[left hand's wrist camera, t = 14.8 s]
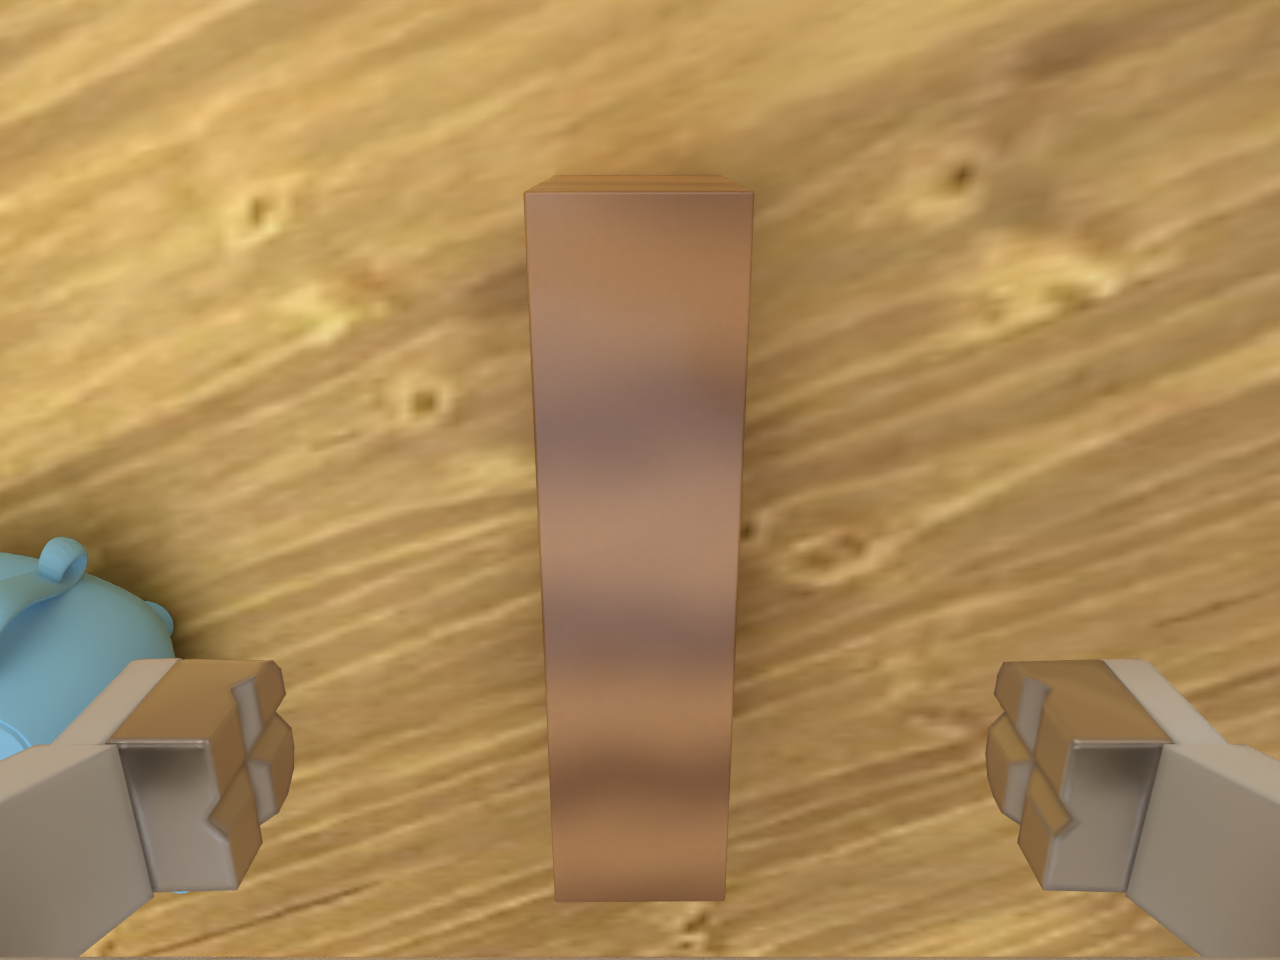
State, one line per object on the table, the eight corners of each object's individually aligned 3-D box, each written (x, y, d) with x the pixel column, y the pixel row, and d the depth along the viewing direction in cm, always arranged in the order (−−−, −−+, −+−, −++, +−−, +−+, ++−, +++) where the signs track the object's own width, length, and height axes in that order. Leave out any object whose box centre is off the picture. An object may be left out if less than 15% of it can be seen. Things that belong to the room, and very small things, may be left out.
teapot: (-115, 558, 40) (-393, 717, 30) (171, 474, 38) (-19, 614, 28) (37, 781, 44) (-158, 987, 34) (301, 717, 42) (178, 916, 32)
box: (552, 175, 34) (523, 191, 25) (722, 175, 34) (755, 191, 25) (571, 739, 43) (554, 902, 34) (705, 738, 43) (725, 902, 34)
